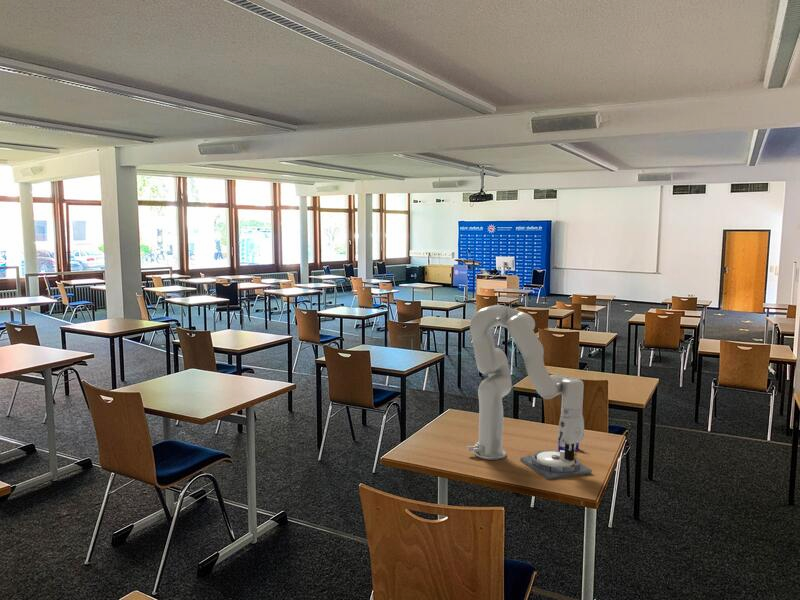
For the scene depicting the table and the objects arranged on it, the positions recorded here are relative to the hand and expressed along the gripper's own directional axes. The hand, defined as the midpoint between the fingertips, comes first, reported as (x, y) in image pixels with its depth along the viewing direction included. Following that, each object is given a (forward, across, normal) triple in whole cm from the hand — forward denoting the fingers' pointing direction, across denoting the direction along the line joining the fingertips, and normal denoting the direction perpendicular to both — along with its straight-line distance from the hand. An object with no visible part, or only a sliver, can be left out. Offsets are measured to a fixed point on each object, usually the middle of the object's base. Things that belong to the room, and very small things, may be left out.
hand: (569, 459), depth 219 cm
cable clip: (+5, +18, +14) cm, 23 cm away
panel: (+5, -1, +6) cm, 7 cm away
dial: (+3, -1, +6) cm, 6 cm away
